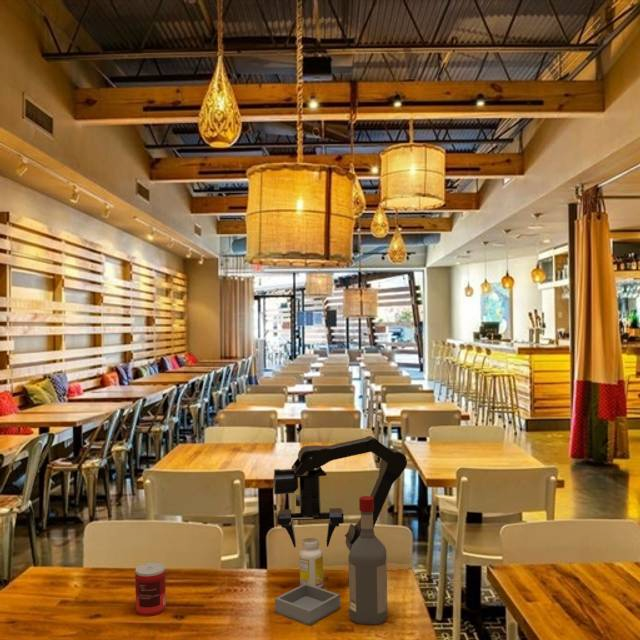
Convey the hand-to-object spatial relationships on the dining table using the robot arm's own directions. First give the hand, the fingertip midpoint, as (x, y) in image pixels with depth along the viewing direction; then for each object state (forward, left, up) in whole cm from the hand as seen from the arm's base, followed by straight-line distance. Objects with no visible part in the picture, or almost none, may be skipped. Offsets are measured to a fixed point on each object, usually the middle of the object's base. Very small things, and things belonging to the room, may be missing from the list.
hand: (311, 546), depth 179 cm
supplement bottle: (0, 0, -11) cm, 11 cm away
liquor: (+5, +23, -11) cm, 27 cm away
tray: (+12, +9, -11) cm, 19 cm away
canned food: (+37, -24, -11) cm, 46 cm away
